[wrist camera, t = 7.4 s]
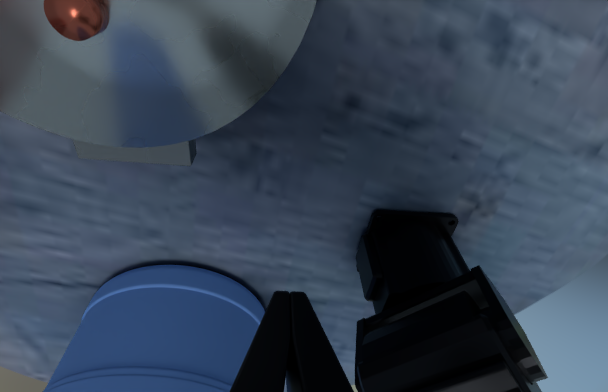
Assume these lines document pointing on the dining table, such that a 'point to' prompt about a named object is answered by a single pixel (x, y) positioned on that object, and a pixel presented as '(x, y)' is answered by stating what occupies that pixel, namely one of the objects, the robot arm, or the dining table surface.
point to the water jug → (161, 334)
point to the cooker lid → (142, 64)
